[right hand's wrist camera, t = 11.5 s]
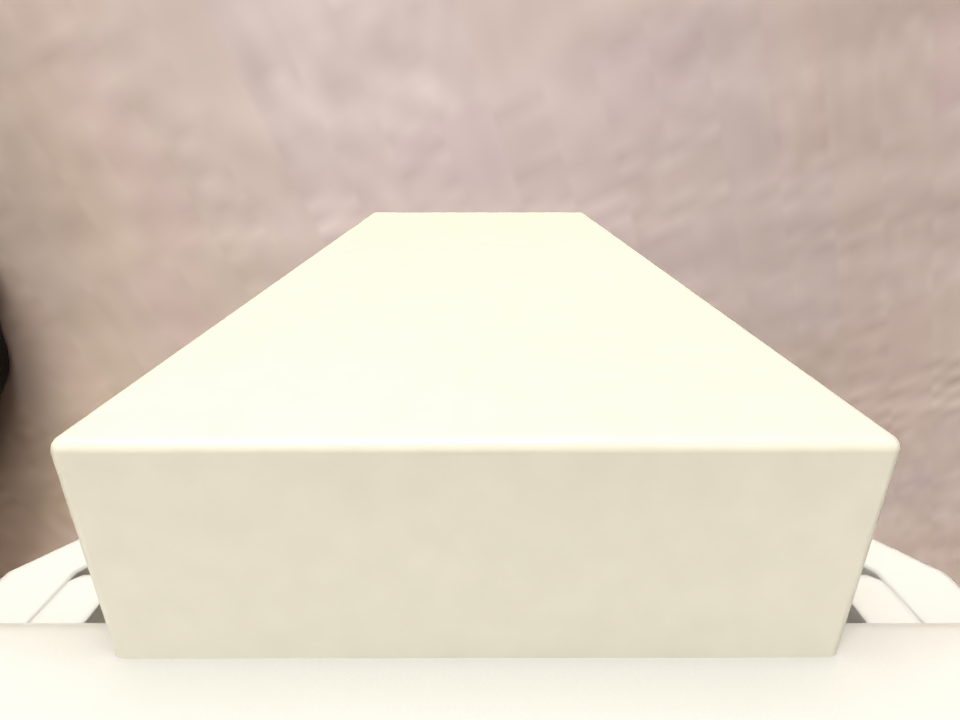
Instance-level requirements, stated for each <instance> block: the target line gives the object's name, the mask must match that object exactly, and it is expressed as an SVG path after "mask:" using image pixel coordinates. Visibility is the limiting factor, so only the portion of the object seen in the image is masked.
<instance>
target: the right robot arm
mask: <svg viewBox="0 0 960 720" xmlns="http://www.w3.org/2000/svg"><path fill="white" fill-rule="evenodd" d="M0 720H960V586H958V585H957V584H956V583H955V582H954V581H953V580H952V579H951V578H950V577H949V576H948V575H947V574H946V573H944V572H942V571H940V570H938V569H935V568H933V567H931V566H929V565H927V564H925V563H923V562H921V561H918V560H916V559H914V558H912V557H910V556H908V555H906V554H904V553H902V552H899V551H897V550H895V549H893V548H891V547H889V546H887V545H885V544H882V543H880V542H878V541H876V540H874V539H872V542H871V545H870V548H869V551H868V554H867V557H866V561H865V564H864V567H863V570H862V573H861V576H860V580H859V583H858V586H857V589H856V592H855V595H854V598H853V602H852V605H851V608H850V611H849V614H848V617H847V621H846V624H845V627H844V630H843V633H842V636H841V639H840V643H839V646H838V649H837V652H836V655H834V656H832V657H829V658H202V659H123V658H120V657H118V656H116V653H115V650H114V646H113V643H112V640H111V637H110V634H109V631H108V628H107V625H106V622H105V619H104V616H103V613H102V609H101V606H100V603H99V600H98V597H97V594H96V591H95V588H94V585H93V582H92V579H91V576H90V572H89V569H88V566H87V563H86V560H85V557H84V554H83V551H82V548H81V545H80V542H79V539H78V540H76V541H74V542H72V543H70V544H68V545H66V546H63V547H61V548H59V549H57V550H55V551H53V552H51V553H48V554H46V555H44V556H42V557H40V558H38V559H36V560H33V561H31V562H29V563H27V564H25V565H23V566H21V567H18V568H16V569H14V570H12V571H10V572H8V573H7V574H6V575H5V576H4V577H2V578H1V579H0Z"/></svg>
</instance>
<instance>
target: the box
mask: <svg viewBox="0 0 960 720" xmlns="http://www.w3.org/2000/svg"><path fill="white" fill-rule="evenodd" d="M899 453H900V445H899V442H898V440H897V438H896V437H895V436H893V435H892V434H890V433H889V432H888V431H886V430H885V429H883V428H882V427H881V426H879V425H878V424H876V423H875V422H874V421H872V420H871V419H869V418H868V417H867V416H865V415H864V414H863V413H861V412H860V411H858V410H857V409H856V408H854V407H853V406H851V405H850V404H849V403H847V402H846V401H844V400H843V399H842V398H840V397H839V396H837V395H836V394H835V393H833V392H832V391H830V390H829V389H828V388H826V387H825V386H823V385H822V384H821V383H819V382H818V381H816V380H815V379H814V378H812V377H811V376H809V375H808V374H807V373H805V372H804V371H802V370H801V369H800V368H798V367H797V366H795V365H794V364H793V363H791V362H790V361H788V360H787V359H786V358H784V357H783V356H781V355H780V354H779V353H777V352H776V351H774V350H773V349H772V348H770V347H769V346H767V345H766V344H765V343H763V342H762V341H760V340H759V339H758V338H756V337H755V336H753V335H752V334H751V333H749V332H748V331H746V330H745V329H744V328H742V327H741V326H739V325H738V324H737V323H735V322H734V321H732V320H731V319H730V318H728V317H727V316H726V315H724V314H723V313H721V312H720V311H719V310H717V309H716V308H714V307H713V306H712V305H710V304H709V303H707V302H706V301H705V300H703V299H702V298H700V297H699V296H698V295H696V294H695V293H693V292H692V291H691V290H689V289H688V288H686V287H685V286H684V285H682V284H681V283H679V282H678V281H677V280H675V279H674V278H672V277H671V276H670V275H668V274H667V273H665V272H664V271H663V270H661V269H660V268H658V267H657V266H656V265H654V264H653V263H651V262H650V261H649V260H647V259H646V258H644V257H643V256H642V255H640V254H639V253H637V252H636V251H635V250H633V249H632V248H630V247H629V246H628V245H626V244H625V243H623V242H622V241H621V240H619V239H618V238H616V237H615V236H614V235H612V234H611V233H609V232H608V231H607V230H605V229H604V228H602V227H601V226H600V225H598V224H597V223H595V222H594V221H593V220H591V219H590V218H588V217H587V216H586V215H584V214H583V213H373V214H372V215H370V216H369V217H368V218H366V219H365V220H363V221H362V222H360V223H359V224H358V225H356V226H355V227H353V228H352V229H351V230H349V231H348V232H346V233H345V234H343V235H342V236H341V237H339V238H338V239H336V240H335V241H334V242H332V243H331V244H329V245H328V246H326V247H325V248H324V249H322V250H321V251H319V252H318V253H317V254H315V255H314V256H312V257H311V258H309V259H308V260H307V261H305V262H304V263H302V264H301V265H300V266H298V267H297V268H295V269H294V270H292V271H291V272H290V273H288V274H287V275H285V276H284V277H283V278H281V279H280V280H278V281H277V282H276V283H274V284H273V285H271V286H270V287H268V288H267V289H266V290H264V291H263V292H261V293H260V294H259V295H257V296H256V297H254V298H253V299H251V300H250V301H249V302H247V303H246V304H244V305H243V306H242V307H240V308H239V309H237V310H236V311H234V312H233V313H232V314H230V315H229V316H227V317H226V318H225V319H223V320H222V321H220V322H219V323H217V324H216V325H215V326H213V327H212V328H210V329H209V330H208V331H206V332H205V333H203V334H202V335H200V336H199V337H198V338H196V339H195V340H193V341H192V342H191V343H189V344H188V345H186V346H185V347H183V348H182V349H181V350H179V351H178V352H176V353H175V354H174V355H172V356H171V357H169V358H168V359H166V360H165V361H164V362H162V363H161V364H159V365H158V366H157V367H155V368H154V369H152V370H151V371H150V372H148V373H147V374H145V375H144V376H142V377H141V378H140V379H138V380H137V381H135V382H134V383H133V384H131V385H130V386H128V387H127V388H125V389H124V390H123V391H121V392H120V393H118V394H117V395H116V396H114V397H113V398H111V399H110V400H108V401H107V402H106V403H104V404H103V405H101V406H100V407H99V408H97V409H96V410H94V411H93V412H91V413H90V414H89V415H87V416H86V417H84V418H83V419H82V420H80V421H79V422H77V423H76V424H74V425H73V426H72V427H70V428H69V429H67V430H66V431H65V432H63V433H62V434H60V435H59V436H57V437H56V438H55V439H54V441H53V442H52V444H51V455H52V458H53V462H54V465H55V468H56V471H57V474H58V477H59V480H60V483H61V486H62V489H63V492H64V495H65V499H66V502H67V505H68V508H69V511H70V514H71V517H72V520H73V523H74V526H75V529H76V532H77V536H78V539H79V542H80V545H81V548H82V551H83V554H84V557H85V560H86V563H87V566H88V569H89V572H90V576H91V579H92V582H93V585H94V588H95V591H96V594H97V597H98V600H99V603H100V606H101V609H102V613H103V616H104V619H105V622H106V625H107V628H108V631H109V634H110V637H111V640H112V643H113V646H114V650H115V653H116V656H118V657H120V658H123V659H202V658H829V657H832V656H834V655H836V652H837V649H838V646H839V643H840V639H841V636H842V633H843V630H844V627H845V624H846V621H847V617H848V614H849V611H850V608H851V605H852V602H853V598H854V595H855V592H856V589H857V586H858V583H859V580H860V576H861V573H862V570H863V567H864V564H865V561H866V557H867V554H868V551H869V548H870V545H871V542H872V538H873V535H874V532H875V529H876V526H877V523H878V520H879V516H880V513H881V510H882V507H883V504H884V501H885V497H886V494H887V491H888V488H889V485H890V482H891V479H892V475H893V472H894V469H895V466H896V463H897V460H898V456H899Z"/></svg>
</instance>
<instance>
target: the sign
mask: <svg viewBox="0 0 960 720" xmlns="http://www.w3.org/2000/svg"><path fill="white" fill-rule="evenodd" d="M8 371H9V360H8V352H7V347H6V344H5V342H4V339H3V337H2V334H1V331H0V394H1V392H2V389H3V387H4V385H5V383H6V380H7V377H8Z"/></svg>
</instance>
